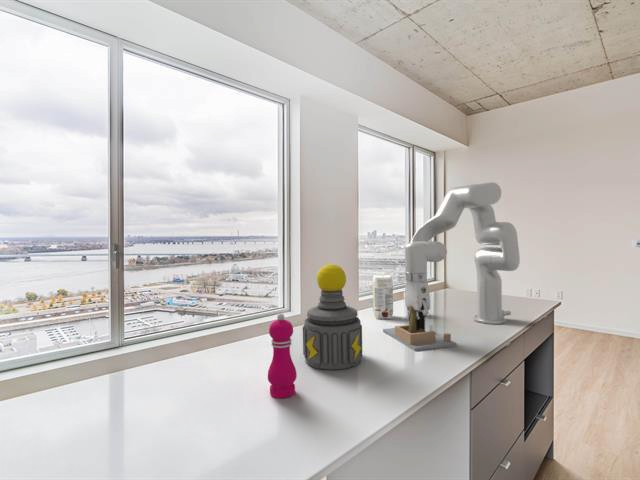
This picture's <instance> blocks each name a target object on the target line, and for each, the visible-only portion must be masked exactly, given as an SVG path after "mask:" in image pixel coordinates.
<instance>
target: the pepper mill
mask: <svg viewBox="0 0 640 480" xmlns="http://www.w3.org/2000/svg"><path fill="white" fill-rule="evenodd" d="M293 333H294V326H293V324H292V323H291V321H290V320H287V319H285V314H284V313H278V314H277V317H276V320H274V321H273V322H271V324H270V325H269V328H268V334H269V336H270V337H271V340H270V342H271V345H270V346H272V349H273V350H272V351H273V352H272V358H271V359H272V360H271V362H270V365H269V368H268V372H267V381H268V383H269V384H270V386H269V394H270V396H271V397H273V398H276V399H287V398H289V397H292V396H294V394H295V393H296V384H295V381H296V380H297V369H296V367H295V365H294V362H293V359H292V356H291V350H290V349H291V345H292V338H291V337H292V335H293Z"/></svg>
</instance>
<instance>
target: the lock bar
mask: <svg viewBox="0 0 640 480" xmlns="http://www.w3.org/2000/svg"><path fill="white" fill-rule="evenodd" d="M425 331H426V332H429V331H434V325H433V324H432V323H430V322H427V321H425Z"/></svg>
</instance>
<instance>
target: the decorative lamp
mask: <svg viewBox="0 0 640 480" xmlns="http://www.w3.org/2000/svg"><path fill="white" fill-rule="evenodd" d="M316 282H317V285H318V288H320V290H321V291H320V296H319V299H318V300H319V302H318V304H317V305H316V306H314V307H312V308H310V309H308V310H307V311H306V313H307V315H306V316H307V318H305V320H304V325H303V326H302V349H303V350H302V354H303V356H304V359H305V362H306V363H307V365H309V366H311V367H313V368H314V369H319V370H326V371H337V370H338V371H339V370H341V371H342V370H347V369H350V368H353V367H356V366H357V365H359V364H360V363H361V360H362V356H363V326H362V323H361V322H362V321H361V319H360V318H359V317H358V310H357V309H356V308H353V307H351V306H349V305H347V303H346V302H345V296H344V295H343V289H344V287H345V285H346V284H347V283H346V282H347V276H346V273H345V271H344V269H343V268H342V267H341V266H339V265H337V264H334V263H330V264H325V265H323V266H322V267H321V268H320V269H319V270H318V272H317V275H316Z"/></svg>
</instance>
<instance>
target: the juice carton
mask: <svg viewBox="0 0 640 480" xmlns="http://www.w3.org/2000/svg"><path fill="white" fill-rule="evenodd" d="M372 305H373V307H372V311H373V315H374V317H375V318H376V320H392V319H393V315H394V283H393V278H392V276H391V275H389V274H387V275H373V279H372Z"/></svg>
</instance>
